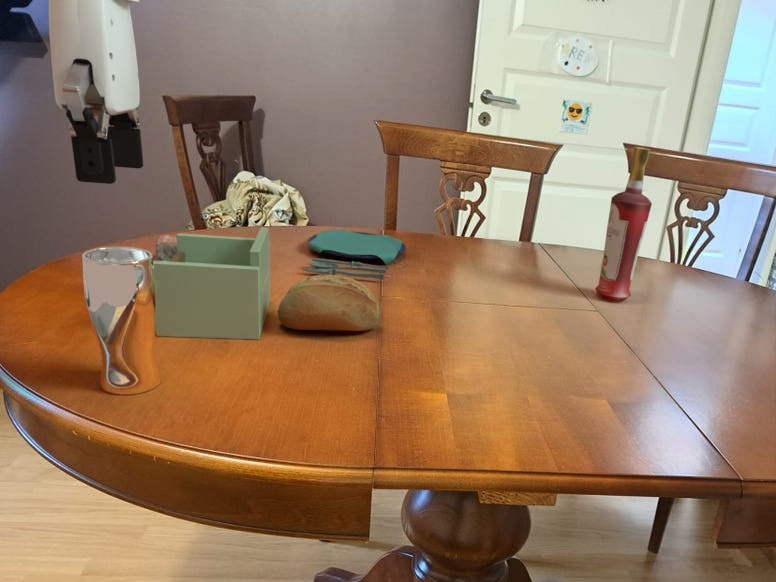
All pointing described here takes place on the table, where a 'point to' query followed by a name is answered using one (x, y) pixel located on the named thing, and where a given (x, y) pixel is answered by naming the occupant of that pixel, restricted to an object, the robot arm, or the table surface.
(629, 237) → the liquor
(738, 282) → the table surface
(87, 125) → the robot arm
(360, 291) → the bread roll
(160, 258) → the packaged product
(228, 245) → the green boxy piece
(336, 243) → the cutlery set
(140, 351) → the beer glass
